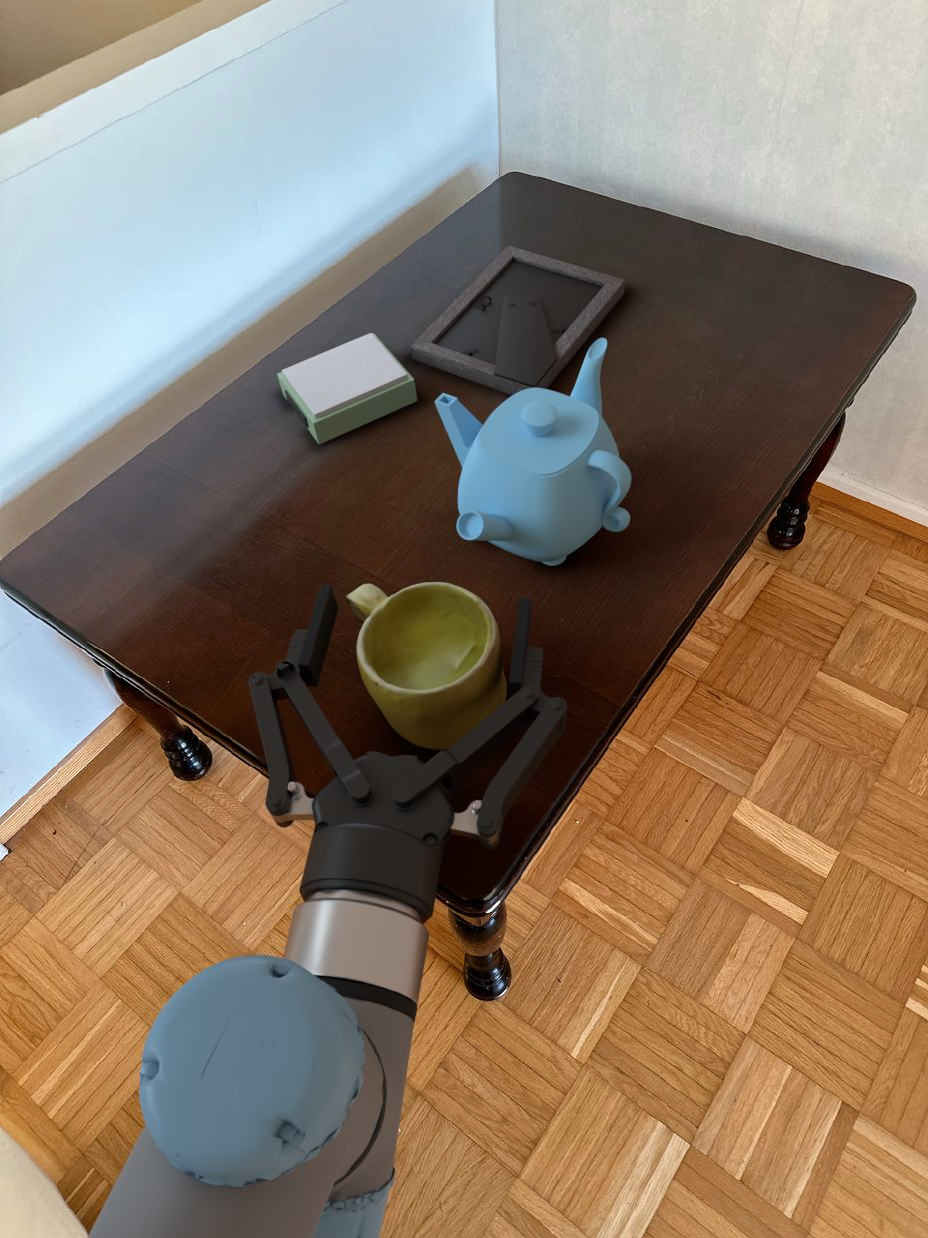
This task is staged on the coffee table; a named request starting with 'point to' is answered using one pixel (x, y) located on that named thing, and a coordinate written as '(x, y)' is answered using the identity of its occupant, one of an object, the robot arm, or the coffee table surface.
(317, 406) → the scale
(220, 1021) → the robot arm
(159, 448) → the coffee table surface
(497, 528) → the teapot
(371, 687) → the mug
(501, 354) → the picture frame
